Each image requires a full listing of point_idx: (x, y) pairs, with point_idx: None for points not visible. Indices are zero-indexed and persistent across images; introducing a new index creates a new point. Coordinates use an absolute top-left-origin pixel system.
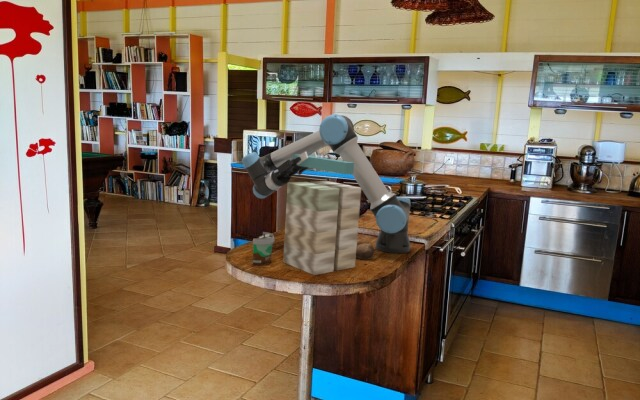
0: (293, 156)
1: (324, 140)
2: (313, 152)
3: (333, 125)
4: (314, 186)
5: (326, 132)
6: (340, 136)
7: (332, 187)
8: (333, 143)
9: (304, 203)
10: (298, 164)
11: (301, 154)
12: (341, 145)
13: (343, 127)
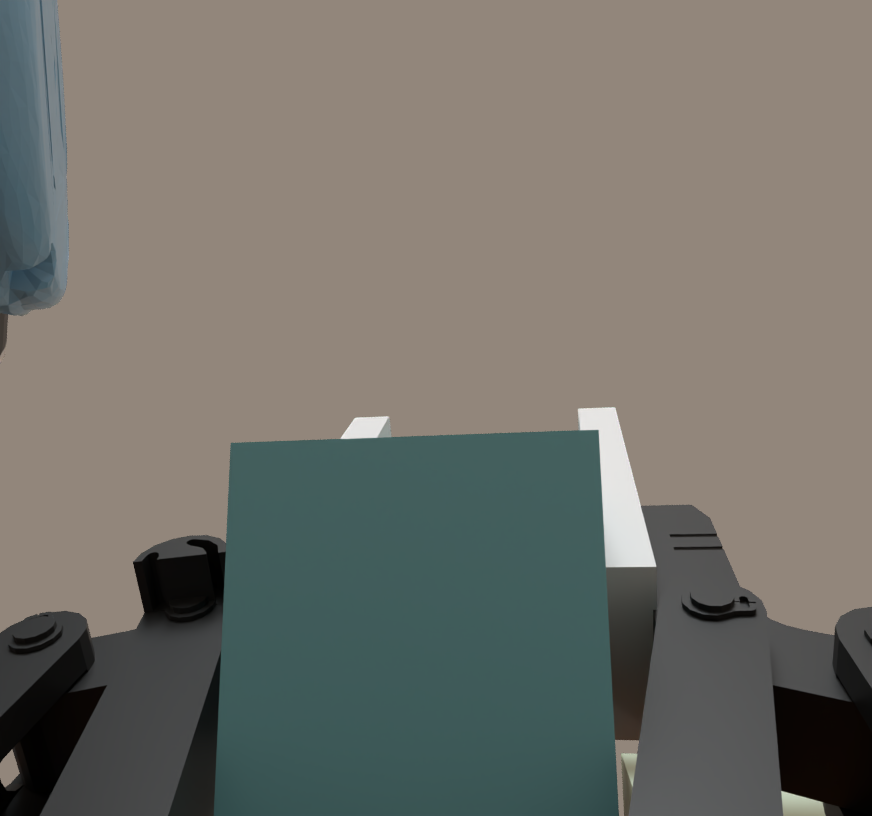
0: (598, 503)
1: (30, 201)
2: (382, 426)
3: (51, 33)
4: (799, 805)
5: (43, 78)
6: (65, 233)
7: (632, 772)
8: (50, 301)
9: None
10: (627, 714)
11: (624, 455)
12: (1, 349)
13: (65, 134)
